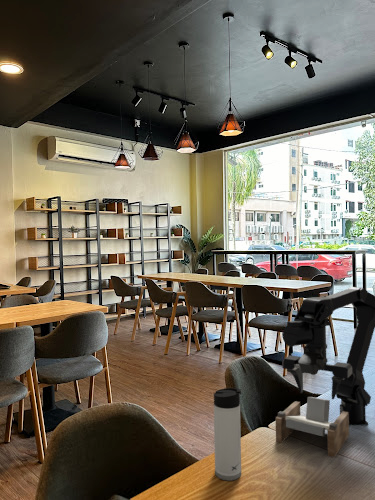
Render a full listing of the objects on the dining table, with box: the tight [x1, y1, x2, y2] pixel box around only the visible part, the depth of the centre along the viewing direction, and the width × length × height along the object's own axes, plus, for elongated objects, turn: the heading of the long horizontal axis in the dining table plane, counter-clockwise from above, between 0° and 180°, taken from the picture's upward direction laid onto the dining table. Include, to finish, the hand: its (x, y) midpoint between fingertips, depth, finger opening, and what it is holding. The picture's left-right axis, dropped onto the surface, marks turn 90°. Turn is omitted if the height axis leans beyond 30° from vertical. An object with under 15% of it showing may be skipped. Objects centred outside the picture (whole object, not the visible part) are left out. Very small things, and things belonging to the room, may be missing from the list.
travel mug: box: [213, 387, 242, 482], centre depth 95 cm, size 6×7×20 cm
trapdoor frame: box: [275, 400, 350, 458], centre depth 112 cm, size 15×16×7 cm
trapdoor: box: [285, 415, 332, 437], centre depth 112 cm, size 14×12×2 cm
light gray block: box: [305, 396, 331, 423], centre depth 116 cm, size 5×5×6 cm
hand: (316, 395), depth 116 cm, fingers open, 9 cm apart
